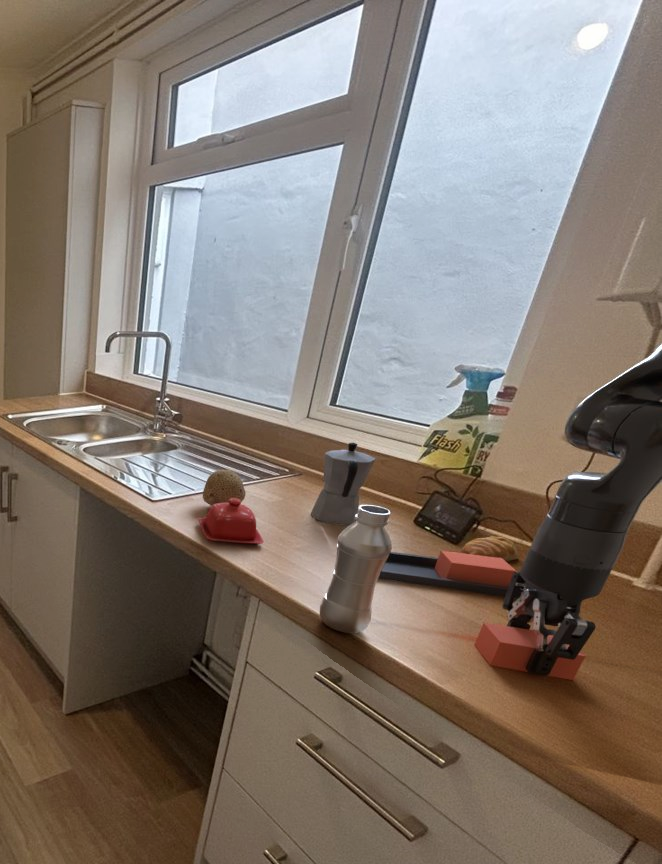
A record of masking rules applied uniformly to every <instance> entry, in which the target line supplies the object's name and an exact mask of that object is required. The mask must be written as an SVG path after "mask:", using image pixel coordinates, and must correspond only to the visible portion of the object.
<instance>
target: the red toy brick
mask: <svg viewBox="0 0 662 864" xmlns="http://www.w3.org/2000/svg"><path fill="white" fill-rule="evenodd" d="M552 638H553V635H549V636H548V638H547V644H549V643H550V641H551V639H552ZM536 642H537V633H535V632H534V631H533V629H529V630H528V629H522V628H516V627H509V626H507V625H503V624H495V623H491V622H483V623H482V625H481V628H480V630H479V632H478V635H477V637H476V640H475V642H474V647H476V649H477V651H478V652H479V653H480V654H481V655H482V657H483V658H484V659H485V660H486V662H487V663H488V665H489V666H491V667H498V668H502V669H508V670H513V671H514V670H515V671H520V672H526V673H529V672H528V671H527V670H526V665H527V663H528V661H529V659H530V657H531V655H532V653H533V651H534V648H536ZM568 647H569V645H567V644H566V649H567V648H568ZM585 658H586V656H585V654H584V653H582V651H580V652H579V654H578V655H577V657H576V658H575V659H574V660H572V659H566V658H560V657H558V658H557V660H556V662H555V664H554V666H553V668H552V670H551V672H550V674H549V675H547V676H546V677H552V678H558V679H564V680H569V681H574V679H575V677H576V675H577V674H578V672H579V669H580V668H581V666H582V664H583V662H584V660H585Z"/></svg>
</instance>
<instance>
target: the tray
mask: <svg viewBox="0 0 662 864" xmlns="http://www.w3.org/2000/svg"><path fill="white" fill-rule="evenodd" d="M437 560H438V557H435V556H426V555H420V554H412V553H404V552H398V551H397V552H396V551H391V552H390V554H389V556H388V558H387V560H386V562H385V564H384V566H383V568H382V570H381V572H380V575H379V577H378V580H385V581H386V580H387V581H391V582H400V583H406V584H413V585H418V586H419V585H421V586H427V587H433V588H440V589H441V588H442V589H447V590H453V591H460V592H461V591H462V592H467V593H474V594H482V595H488V596H495V597H501V598H502V597H503V598H505V596H506V593H507V590H508V587H502V586H495V585H488V584H481V583H474V582H467V581H459V580H452V579H445V578H441V577H440V576H439V575H438V573H437V572H436V571H435V570H434V568H435V566H436V563H437ZM518 598H519V597H518V596H516V597H515V598H514V600H515V599H516V600H517V599H518Z"/></svg>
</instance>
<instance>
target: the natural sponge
mask: <svg viewBox="0 0 662 864" xmlns="http://www.w3.org/2000/svg"><path fill="white" fill-rule="evenodd" d="M245 489H246V488H245V486H244V482H243V480H242V478H241V477H240V475H239V474H238V473H237V472H235V471H234V470H231V469H218V470H215V471H213V472H212V473H211V474H210V475H209V476H208V477H207V480H206V482H205V484H204V487H203V490H202V500H203V501H204V502H205V503H206V504H208V505H209V506H210V507H211V506H212V505H213V504H217V503H229V502H228V500H229V499H230V498H237V499H239V500H240V501H241V503H242V502H243V501H244V500H245V497H246V493H247V492H246V490H245Z"/></svg>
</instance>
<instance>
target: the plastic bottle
mask: <svg viewBox="0 0 662 864" xmlns="http://www.w3.org/2000/svg"><path fill="white" fill-rule="evenodd" d="M390 515H391V511H390V510H389V509H388V508H385V507H383V506H379V505H373V504H361V505H359V508H358V512H357V514H356V516H355V519H356V520H357V521H356V522H355V523H353V524H351V525H349V526H347V527H346V528H344V529H343V530H342V531H341V532H340V533H339V535H338V537H337V541H336V542H337V544H336V556H335V564H334V570H333V574H332V578H331V580H330V583H329V586H328V588H327V591H326V593H325V595H324V596H323V597H322V600H321V602H320V604H319V617H320V619H321V621H322V622H323V623H324V625H326V626H327V627H329V628H330V629H333V630H335V631H338V632H340V633H346V634H358V633H361V632H362V631H364V630H366V629H367V628H368V625H369V624H370V622H371V620H372V613H373V605H372V604H373V599H374V594H375V588H376V586H377V583H378V582H377V581H378V580H379V579H378V577H379V575H380V572H381V570H382V568H383V566H384V564H385V562H386V560H387V558H388V556H389V554H390V552H392V549H393V546H392V540H391V538H390V535H389V533H388V532H387V530H386V528H385V526H388V524H389V518H390Z"/></svg>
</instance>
